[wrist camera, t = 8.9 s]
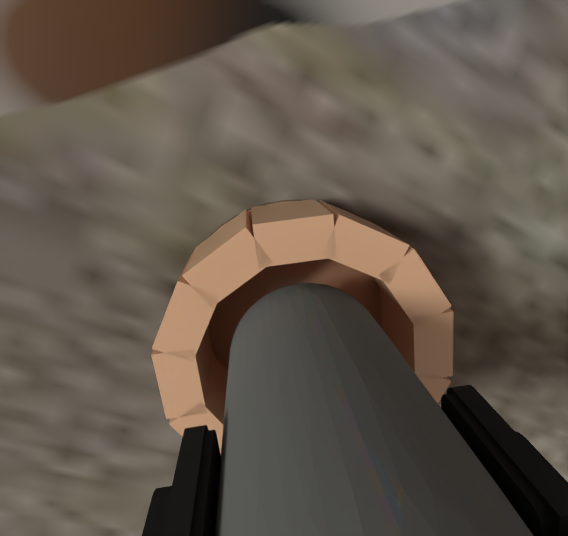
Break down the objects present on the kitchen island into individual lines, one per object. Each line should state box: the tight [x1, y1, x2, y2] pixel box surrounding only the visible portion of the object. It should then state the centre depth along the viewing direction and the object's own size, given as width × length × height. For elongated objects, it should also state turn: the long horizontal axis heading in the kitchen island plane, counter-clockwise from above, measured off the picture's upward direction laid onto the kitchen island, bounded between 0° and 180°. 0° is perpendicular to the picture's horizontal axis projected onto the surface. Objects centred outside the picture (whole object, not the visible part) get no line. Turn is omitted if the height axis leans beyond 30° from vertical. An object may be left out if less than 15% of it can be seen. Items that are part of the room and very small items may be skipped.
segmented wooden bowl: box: [152, 199, 453, 454], centre depth 17 cm, size 11×11×5 cm
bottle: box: [215, 283, 533, 536], centre depth 9 cm, size 6×6×15 cm
